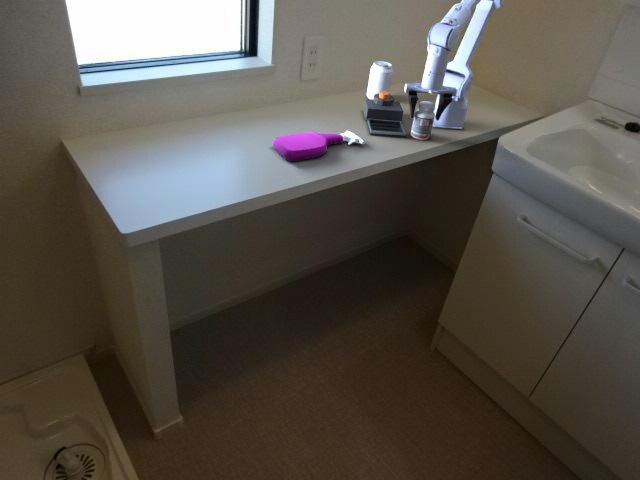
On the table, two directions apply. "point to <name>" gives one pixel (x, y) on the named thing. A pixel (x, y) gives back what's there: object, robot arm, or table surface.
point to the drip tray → (386, 128)
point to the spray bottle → (310, 144)
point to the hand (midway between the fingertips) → (424, 117)
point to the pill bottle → (423, 121)
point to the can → (379, 78)
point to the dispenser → (382, 109)
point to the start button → (384, 95)
